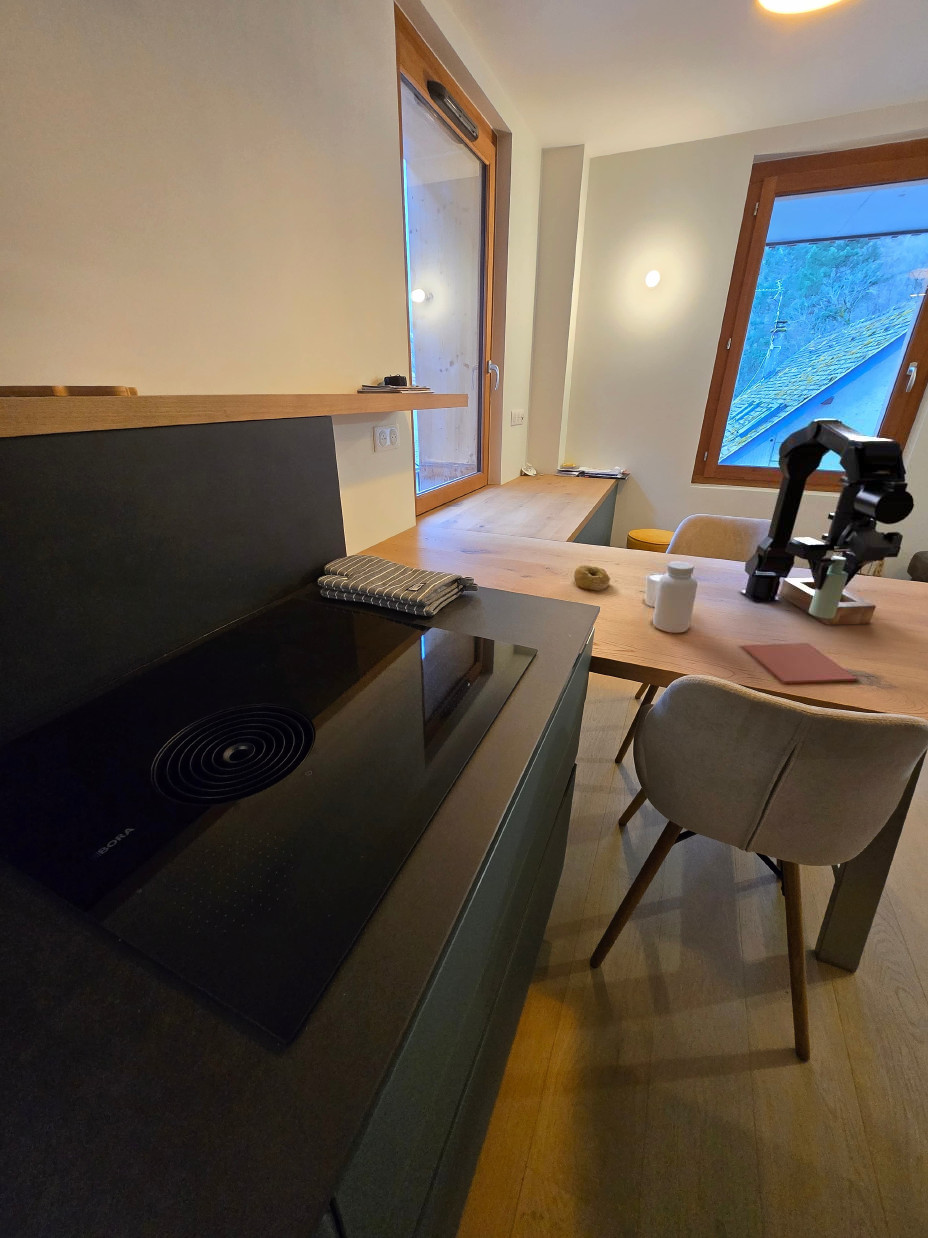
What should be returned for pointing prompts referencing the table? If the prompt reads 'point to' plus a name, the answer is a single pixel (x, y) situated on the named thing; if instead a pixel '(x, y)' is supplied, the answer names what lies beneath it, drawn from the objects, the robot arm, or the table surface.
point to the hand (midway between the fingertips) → (829, 588)
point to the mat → (798, 663)
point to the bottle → (830, 591)
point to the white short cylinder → (652, 588)
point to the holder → (848, 607)
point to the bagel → (591, 577)
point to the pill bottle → (675, 598)
